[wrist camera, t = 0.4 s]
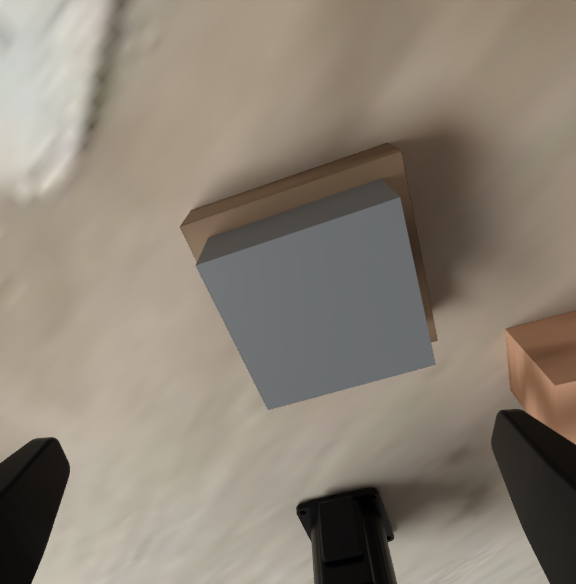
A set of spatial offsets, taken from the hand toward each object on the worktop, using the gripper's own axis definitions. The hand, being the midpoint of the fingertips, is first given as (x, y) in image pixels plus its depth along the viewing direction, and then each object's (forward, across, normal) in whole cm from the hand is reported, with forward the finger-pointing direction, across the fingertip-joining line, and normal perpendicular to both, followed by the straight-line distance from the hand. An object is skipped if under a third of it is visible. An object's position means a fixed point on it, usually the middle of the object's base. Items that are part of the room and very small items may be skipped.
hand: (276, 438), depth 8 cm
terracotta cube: (+14, -16, +9) cm, 23 cm away
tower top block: (+11, -2, +2) cm, 12 cm away
